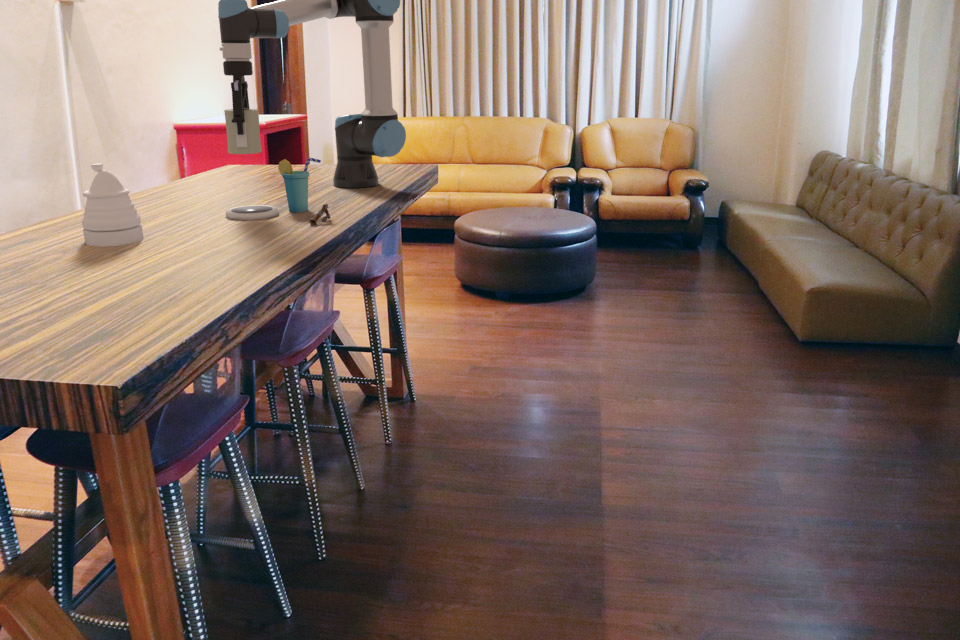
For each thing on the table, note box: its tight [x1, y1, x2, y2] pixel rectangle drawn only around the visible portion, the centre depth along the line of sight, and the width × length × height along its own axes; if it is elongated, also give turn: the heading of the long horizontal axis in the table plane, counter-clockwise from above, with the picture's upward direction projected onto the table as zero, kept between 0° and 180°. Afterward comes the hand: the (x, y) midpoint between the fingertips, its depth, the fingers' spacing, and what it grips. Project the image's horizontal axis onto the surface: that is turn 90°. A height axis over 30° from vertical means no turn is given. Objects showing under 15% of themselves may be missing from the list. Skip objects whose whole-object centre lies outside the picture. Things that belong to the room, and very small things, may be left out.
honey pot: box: [81, 163, 144, 248], centre depth 190 cm, size 13×13×18 cm
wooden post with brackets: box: [308, 203, 331, 226], centre depth 213 cm, size 2×8×4 cm, turn 157°
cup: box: [278, 157, 322, 213], centre depth 226 cm, size 14×8×15 cm, turn 73°
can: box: [223, 108, 263, 155], centre depth 224 cm, size 9×9×12 cm
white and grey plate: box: [225, 204, 280, 221], centre depth 222 cm, size 14×14×2 cm
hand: (244, 145), depth 225 cm, fingers closed on can, 9 cm apart
